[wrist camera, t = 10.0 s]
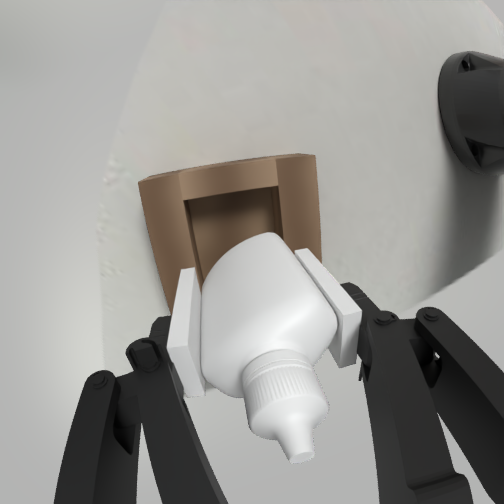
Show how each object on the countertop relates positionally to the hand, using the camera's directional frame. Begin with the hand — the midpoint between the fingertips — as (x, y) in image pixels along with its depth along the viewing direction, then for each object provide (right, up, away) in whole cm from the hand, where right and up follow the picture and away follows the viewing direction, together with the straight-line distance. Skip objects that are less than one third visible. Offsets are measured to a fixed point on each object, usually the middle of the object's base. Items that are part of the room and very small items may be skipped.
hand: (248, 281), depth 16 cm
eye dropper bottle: (0, +1, +1) cm, 2 cm away
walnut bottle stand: (-1, +3, +8) cm, 9 cm away
